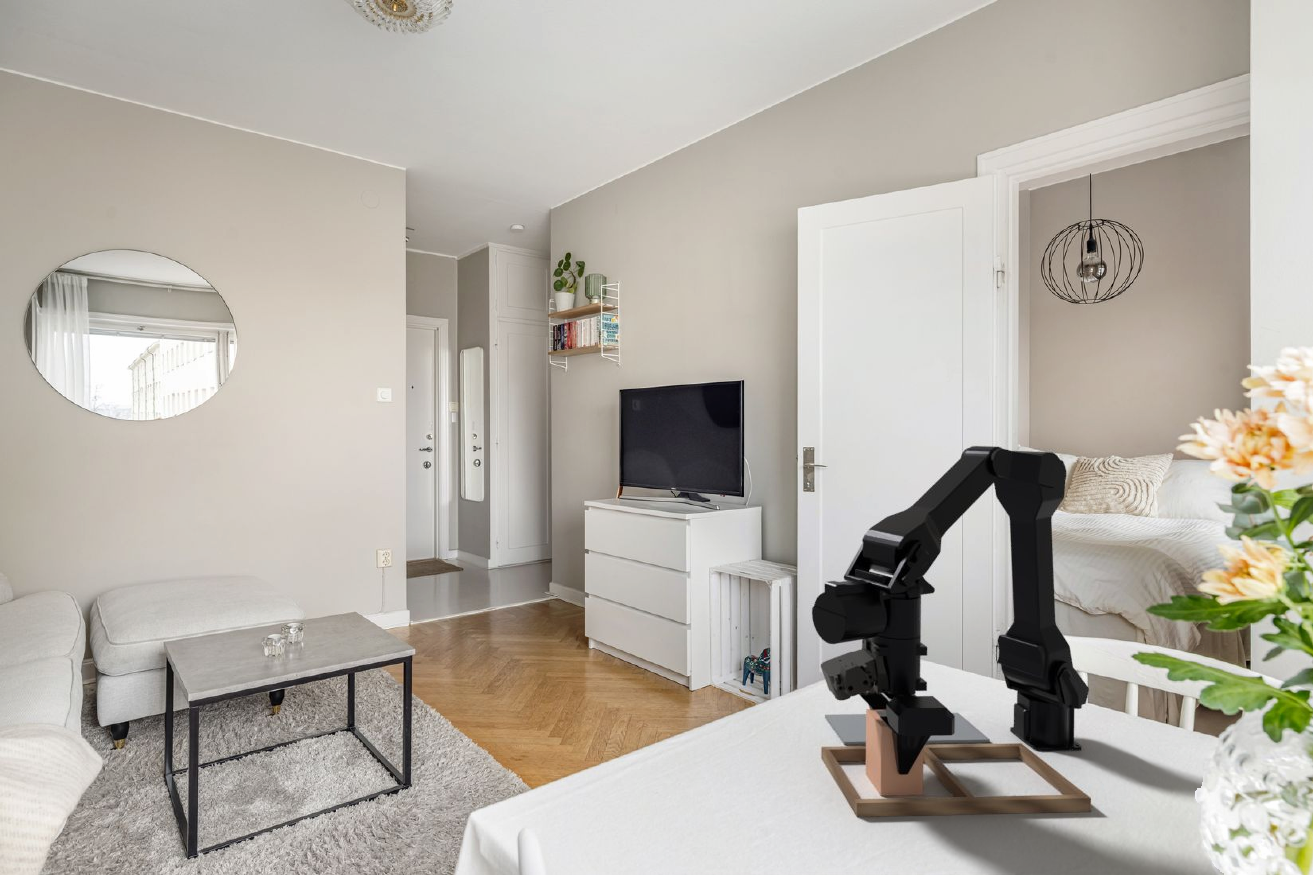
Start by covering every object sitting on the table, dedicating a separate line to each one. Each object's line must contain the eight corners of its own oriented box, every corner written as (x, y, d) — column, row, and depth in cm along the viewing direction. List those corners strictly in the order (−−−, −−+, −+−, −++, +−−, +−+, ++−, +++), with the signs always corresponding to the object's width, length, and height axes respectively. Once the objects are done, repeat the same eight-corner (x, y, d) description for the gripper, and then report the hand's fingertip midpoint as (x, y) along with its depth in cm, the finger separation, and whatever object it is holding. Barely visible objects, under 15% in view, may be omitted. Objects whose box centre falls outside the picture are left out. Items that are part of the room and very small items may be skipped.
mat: (958, 715, 104) (958, 712, 104) (989, 742, 95) (989, 739, 95) (824, 717, 103) (824, 714, 103) (844, 744, 94) (844, 741, 94)
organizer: (1021, 754, 92) (1021, 743, 92) (1090, 811, 78) (1090, 797, 78) (821, 758, 90) (821, 746, 90) (856, 816, 77) (856, 802, 77)
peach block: (905, 773, 86) (906, 707, 86) (923, 794, 81) (923, 724, 81) (865, 774, 86) (866, 708, 86) (880, 795, 81) (881, 725, 81)
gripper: (807, 612, 93) (806, 730, 93) (854, 658, 74) (853, 806, 74) (890, 612, 93) (889, 729, 93) (957, 657, 74) (956, 804, 75)
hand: (893, 762), depth 84 cm, fingers closed on peach block, 5 cm apart
